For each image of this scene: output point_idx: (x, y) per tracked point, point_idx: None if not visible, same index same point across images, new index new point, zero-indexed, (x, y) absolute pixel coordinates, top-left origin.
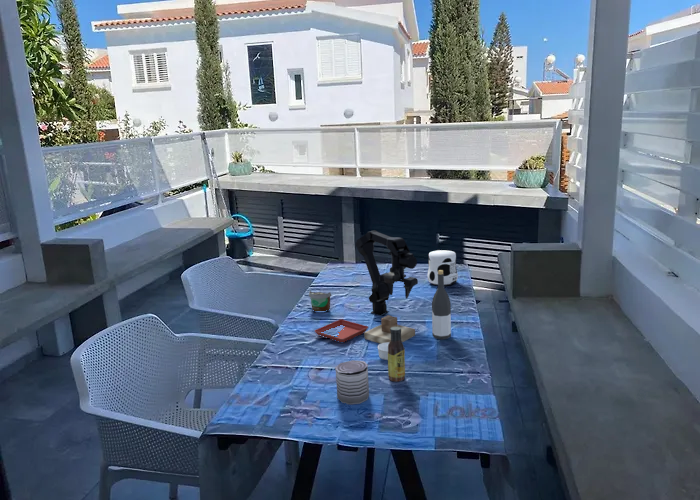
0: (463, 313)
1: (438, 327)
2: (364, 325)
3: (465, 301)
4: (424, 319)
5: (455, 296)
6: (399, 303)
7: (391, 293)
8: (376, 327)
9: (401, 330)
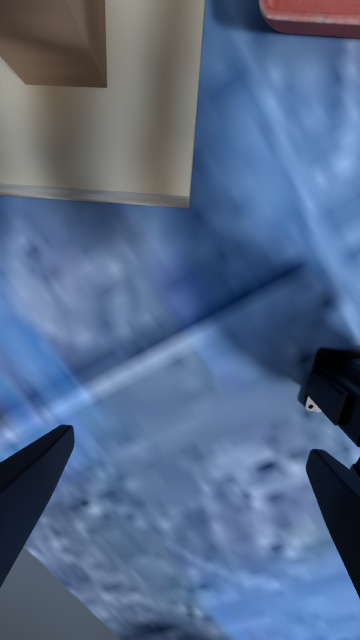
0: None
1: None
2: (308, 16)
3: (89, 593)
4: (99, 400)
5: (146, 617)
6: (305, 507)
7: (321, 478)
8: (191, 30)
9: (1, 97)
